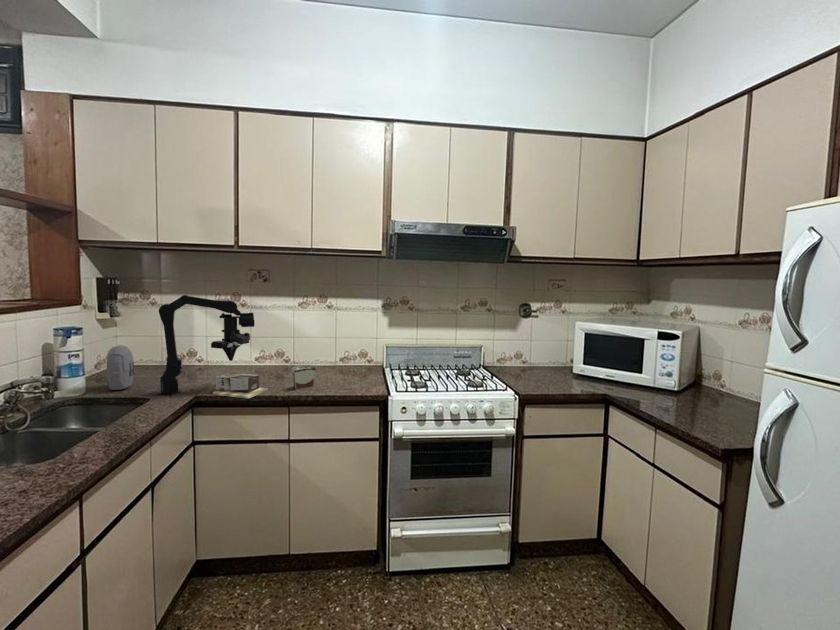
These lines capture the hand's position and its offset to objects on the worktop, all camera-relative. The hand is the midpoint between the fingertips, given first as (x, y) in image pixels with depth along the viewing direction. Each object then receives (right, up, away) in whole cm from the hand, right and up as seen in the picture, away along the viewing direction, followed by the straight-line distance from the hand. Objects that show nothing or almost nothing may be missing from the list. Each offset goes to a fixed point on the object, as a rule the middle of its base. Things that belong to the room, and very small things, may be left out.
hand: (231, 360), depth 197 cm
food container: (+31, -14, +6) cm, 35 cm away
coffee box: (-3, -9, -3) cm, 10 cm away
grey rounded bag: (-47, -12, -5) cm, 49 cm away
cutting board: (+7, -14, -6) cm, 17 cm away
